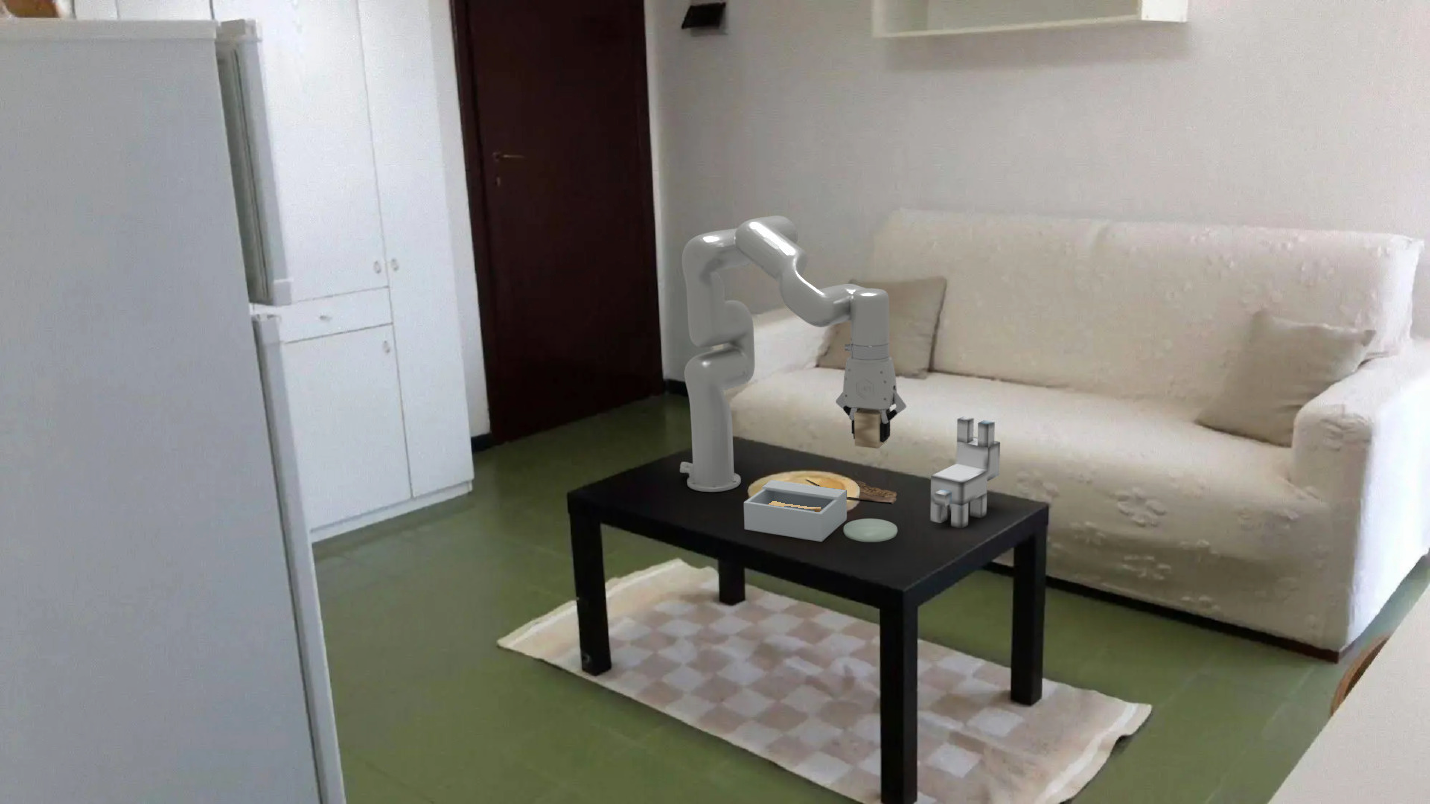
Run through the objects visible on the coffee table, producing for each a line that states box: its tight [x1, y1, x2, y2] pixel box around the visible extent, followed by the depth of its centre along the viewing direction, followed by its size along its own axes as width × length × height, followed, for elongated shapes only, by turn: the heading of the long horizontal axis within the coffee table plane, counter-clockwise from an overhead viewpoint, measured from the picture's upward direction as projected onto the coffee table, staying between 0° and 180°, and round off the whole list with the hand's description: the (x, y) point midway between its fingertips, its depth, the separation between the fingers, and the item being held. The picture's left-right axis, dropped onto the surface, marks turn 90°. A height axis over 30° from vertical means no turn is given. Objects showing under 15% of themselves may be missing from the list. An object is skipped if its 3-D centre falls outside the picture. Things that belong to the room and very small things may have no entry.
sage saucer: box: [843, 518, 898, 543], centre depth 238 cm, size 11×11×1 cm
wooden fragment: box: [852, 479, 898, 505], centre depth 263 cm, size 26×11×1 cm, turn 42°
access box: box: [743, 479, 848, 543], centre depth 243 cm, size 18×14×7 cm
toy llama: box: [930, 416, 1001, 529], centre depth 242 cm, size 8×18×20 cm, turn 137°
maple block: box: [854, 408, 888, 450], centre depth 232 cm, size 5×5×7 cm
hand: (870, 438), depth 233 cm, fingers closed on maple block, 5 cm apart
